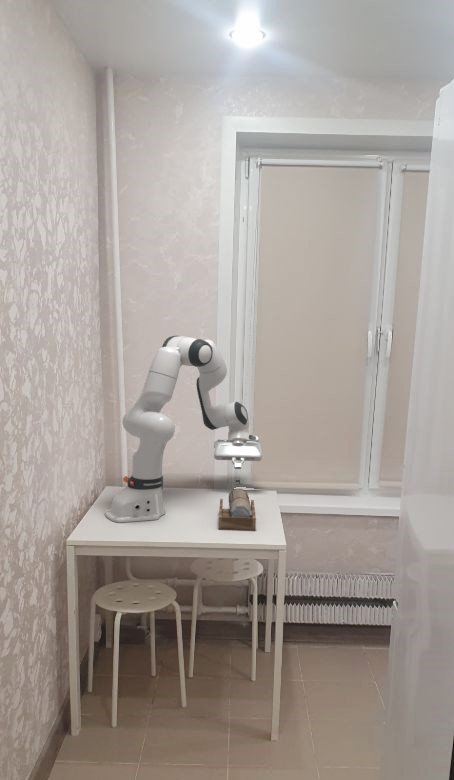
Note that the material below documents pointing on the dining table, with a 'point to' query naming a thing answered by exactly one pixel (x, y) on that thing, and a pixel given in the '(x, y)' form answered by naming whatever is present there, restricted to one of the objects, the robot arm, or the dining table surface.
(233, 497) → the spray can
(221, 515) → the walnut trough
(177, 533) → the dining table surface
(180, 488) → the dining table surface
